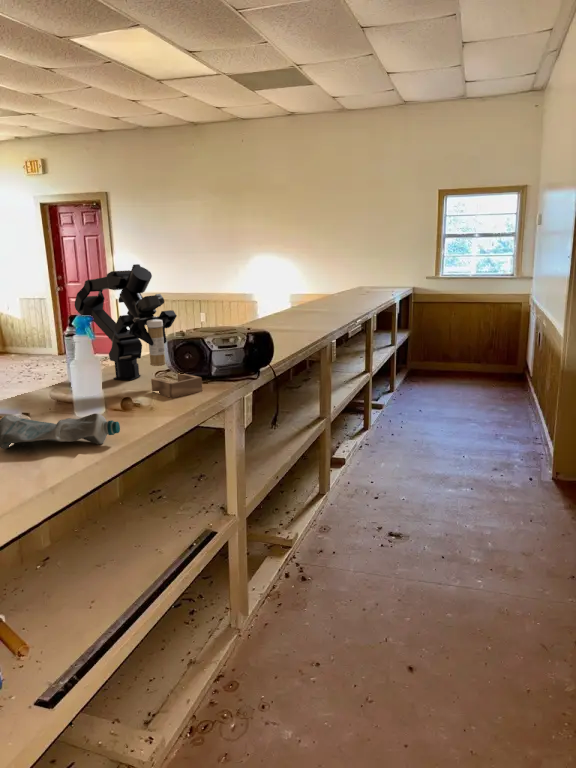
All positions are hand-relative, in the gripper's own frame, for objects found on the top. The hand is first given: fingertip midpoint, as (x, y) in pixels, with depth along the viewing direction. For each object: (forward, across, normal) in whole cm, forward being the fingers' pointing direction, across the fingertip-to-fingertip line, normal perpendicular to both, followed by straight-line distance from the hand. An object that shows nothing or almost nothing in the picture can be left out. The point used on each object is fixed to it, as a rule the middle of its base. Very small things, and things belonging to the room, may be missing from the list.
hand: (159, 343), depth 163 cm
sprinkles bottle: (+4, 0, +6) cm, 7 cm away
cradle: (+15, 0, +4) cm, 15 cm away
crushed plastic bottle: (+28, -43, -9) cm, 52 cm away
